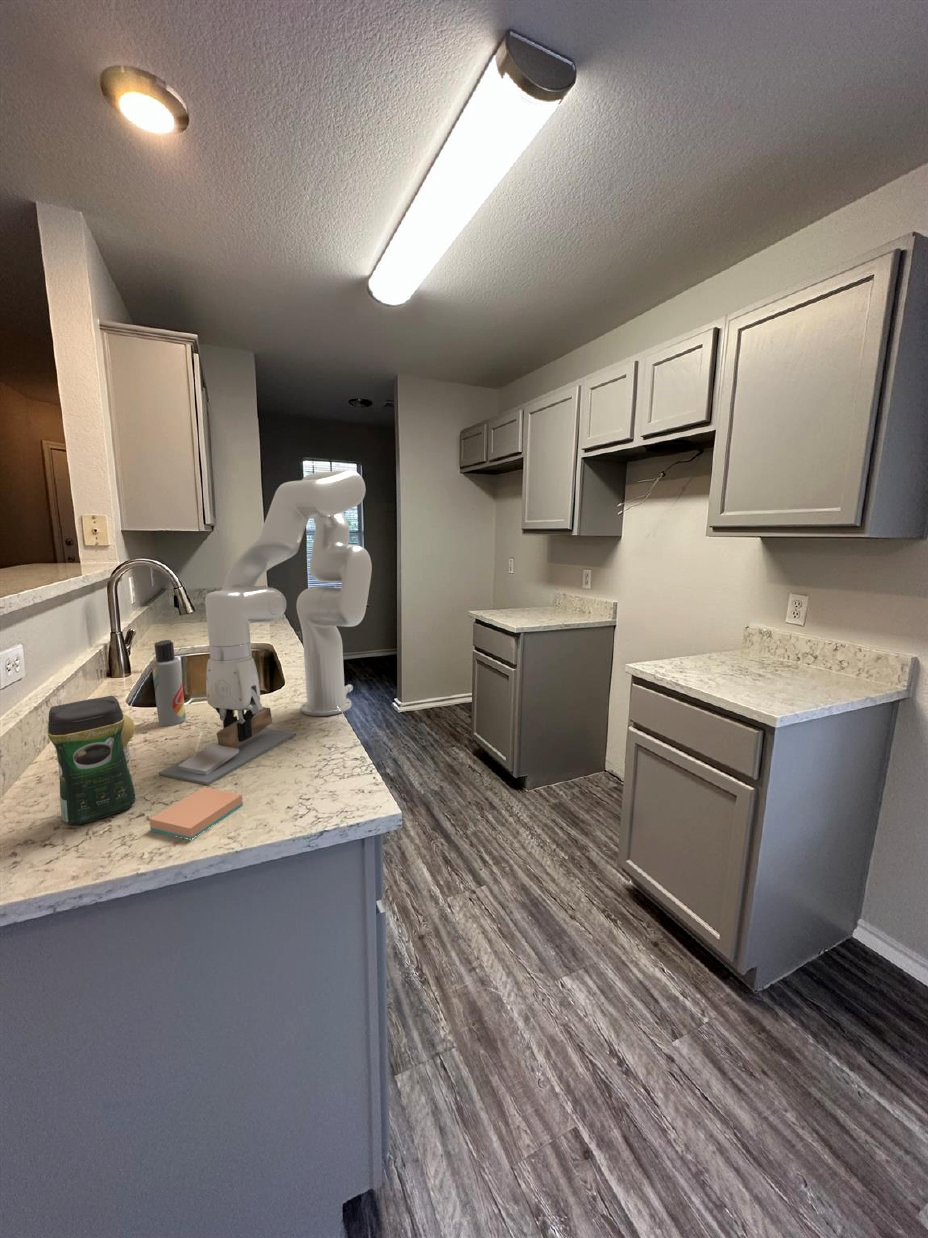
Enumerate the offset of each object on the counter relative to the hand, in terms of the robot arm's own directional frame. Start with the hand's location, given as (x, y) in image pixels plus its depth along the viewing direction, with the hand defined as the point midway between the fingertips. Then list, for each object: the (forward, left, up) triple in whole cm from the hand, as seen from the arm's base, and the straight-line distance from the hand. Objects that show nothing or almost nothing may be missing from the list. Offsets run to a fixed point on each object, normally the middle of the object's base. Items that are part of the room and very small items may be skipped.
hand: (238, 737), depth 101 cm
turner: (+1, 0, -1) cm, 2 cm away
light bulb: (+12, -18, -3) cm, 22 cm away
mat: (+1, 0, -3) cm, 3 cm away
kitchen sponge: (+17, +13, -2) cm, 21 cm away
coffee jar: (+25, -4, -3) cm, 26 cm away
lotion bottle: (-8, -28, -3) cm, 29 cm away
